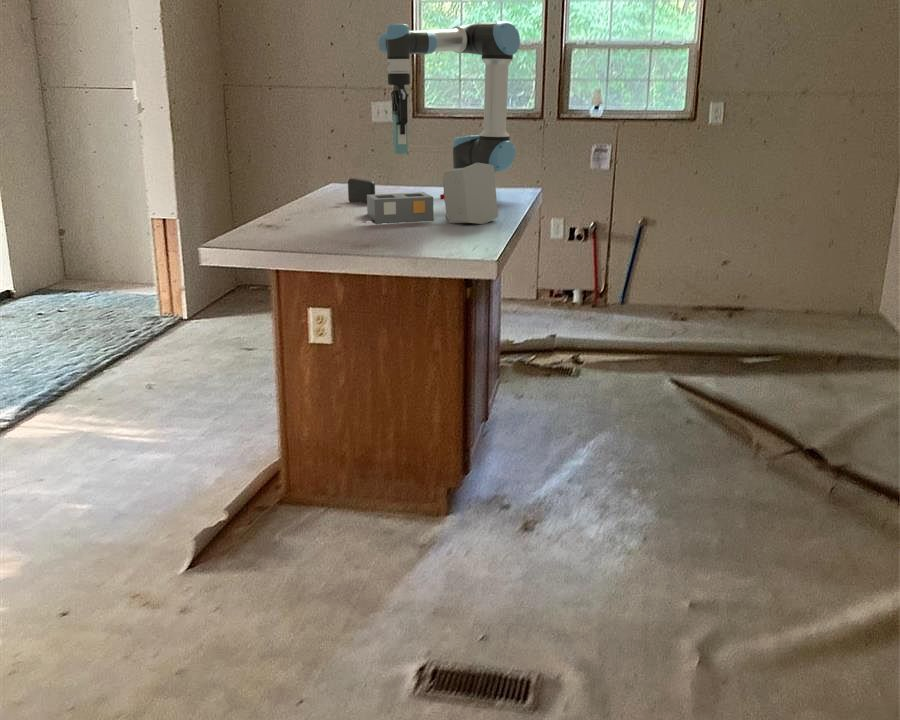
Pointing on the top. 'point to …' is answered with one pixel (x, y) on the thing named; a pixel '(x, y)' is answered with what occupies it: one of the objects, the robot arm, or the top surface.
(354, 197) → the dark grey curved block
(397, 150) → the plug
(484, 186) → the electrical switch box
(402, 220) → the junction block
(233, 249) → the top surface
